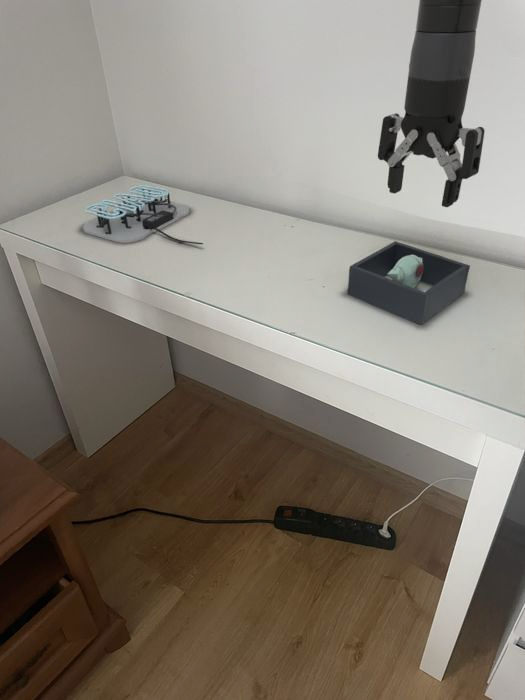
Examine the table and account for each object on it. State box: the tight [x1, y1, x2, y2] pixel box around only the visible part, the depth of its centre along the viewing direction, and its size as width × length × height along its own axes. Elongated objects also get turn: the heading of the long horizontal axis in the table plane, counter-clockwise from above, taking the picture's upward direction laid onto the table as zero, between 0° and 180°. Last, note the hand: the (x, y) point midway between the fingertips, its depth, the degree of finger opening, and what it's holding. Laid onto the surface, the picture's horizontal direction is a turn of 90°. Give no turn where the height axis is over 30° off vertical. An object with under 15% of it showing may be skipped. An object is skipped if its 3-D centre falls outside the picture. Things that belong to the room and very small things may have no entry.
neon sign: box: [82, 184, 204, 245], centre depth 109 cm, size 21×4×29 cm
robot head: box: [387, 255, 423, 288], centre depth 83 cm, size 8×4×7 cm, turn 135°
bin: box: [347, 240, 471, 326], centre depth 83 cm, size 14×13×5 cm
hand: (420, 198), depth 76 cm, fingers open, 8 cm apart
